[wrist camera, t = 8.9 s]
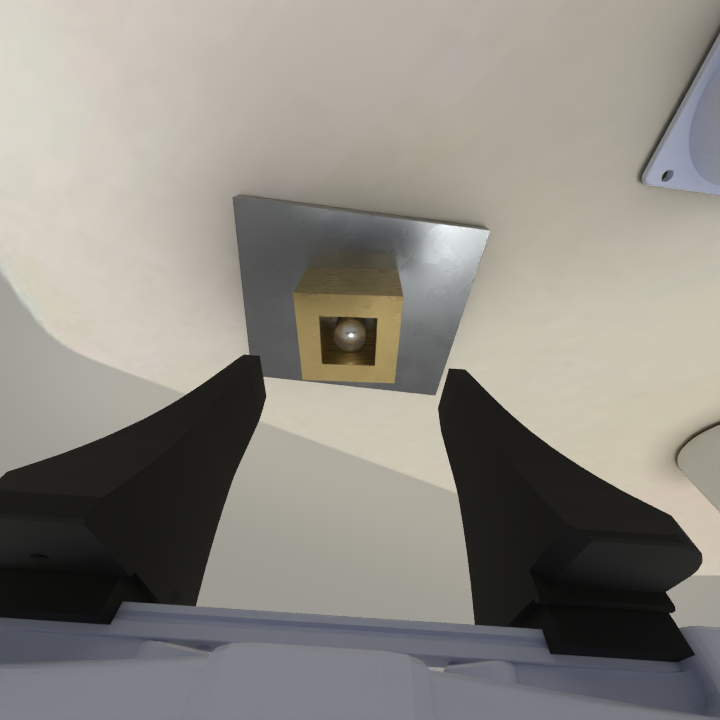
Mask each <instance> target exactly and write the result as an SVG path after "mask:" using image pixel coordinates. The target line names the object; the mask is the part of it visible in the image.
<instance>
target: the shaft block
mask: <svg viewBox="0 0 720 720" xmlns="http://www.w3.org/2000/svg"><path fill="white" fill-rule="evenodd" d="M233 204H234V214H235V223H236V232H237V242H238V251H239V260H240V269H241V279H242V288H243V297H244V306H245V316H246V325H247V334H248V343H249V353H250V355H256V356H260V360H261V366H262V373H263V377H272V378H281V379H291V380H300V381H309V382H318V383H327V384H336V385H345V386H354V387H364V388H373V389H382V390H391V391H400V392H409V393H418V394H427V395H436V392H437V389H438V386H439V383H440V380H441V377H442V374H443V371H444V368H445V365H446V362H447V359H448V356H449V353H450V350H451V347H452V344H453V341H454V338H455V335H456V332H457V329H458V326H459V323H460V320H461V317H462V314H463V311H464V308H465V305H466V302H467V299H468V296H469V293H470V290H471V287H472V284H473V281H474V278H475V275H476V272H477V269H478V266H479V263H480V260H481V257H482V254H483V251H484V248H485V245H486V242H487V239H488V236H489V233H490V230H489V229H487V228H486V227H482V226H475V225H467V224H459V223H452V222H444V221H436V220H429V219H421V218H413V217H406V216H398V215H390V214H383V213H375V212H368V211H360V210H352V209H345V208H337V207H329V206H322V205H314V204H306V203H299V202H291V201H283V200H276V199H268V198H260V197H253V196H245V195H237V196H234V197H233ZM307 267H320V268H353V269H387V270H398V272H399V277H400V282H401V286H402V291H403V296H404V298H403V307H402V317H401V326H400V336H399V345H398V355H397V364H396V374H395V383H372V382H344V381H316V380H303V379H302V370H301V361H300V352H299V343H298V334H297V325H296V315H295V306H294V297H293V292H294V290H295V289H296V287H297V285H298V283H299V281H300V280H301V278H302V276H303V274H304V272H305V270H306V269H307ZM329 319H330V330H335V332H334V341H335V343H336V344H337V346H338V347H340V348H341V349H343V350H346V351H354V350H357V349H359V348H361V347H362V346H363V344H364V342H365V336H366V331H375V318H362V317H331V316H329Z"/></svg>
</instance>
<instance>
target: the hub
mask: <svg viewBox="0 0 720 720" xmlns="http://www.w3.org/2000/svg"><path fill="white" fill-rule="evenodd" d="M293 297H294V306H295V315H296V325H297V334H298V343H299V352H300V361H301V370H302V379H303V380H316V381H344V382H372V383H395V374H396V364H397V355H398V345H399V336H400V326H401V317H402V307H403V298H404V296H403V291H402V286H401V282H400V277H399V272H398V270H387V269H353V268H320V267H307V269H306V270H305V272H304V274H303V276H302V278H301V280H300V281H299V283H298V285H297V287H296V289H295V290H294V292H293ZM329 316H331V317H362V318H375V331H366V336H365V342H364V344H363V346H362V347H361V348H359V349H357V350H354V351H346V350H343V349H341V348H340V347H338V346H337V344H336V343H335V341H334V332H335V330H330V319H329Z"/></svg>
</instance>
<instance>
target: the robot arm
mask: <svg viewBox="0 0 720 720" xmlns="http://www.w3.org/2000/svg"><path fill="white" fill-rule="evenodd" d="M666 171H667V176H666V177H665V178H664V179H663V180H662V179H661V178H662V175H663V174H664V173H665V172H666ZM642 182H643V184H645V185H649V186H656V187H663V188H670V189H678V190H685V191H692V192H699V193H706V194H714V195H720V33H719V35H718V37H717V39H716V41H715V43H714V44H713V46H712V48H711V50H710V52H709V54H708V55H707V57H706V59H705V61H704V63H703V65H702V66H701V68H700V70H699V72H698V74H697V76H696V77H695V79H694V81H693V83H692V85H691V87H690V88H689V90H688V92H687V94H686V96H685V98H684V99H683V101H682V103H681V105H680V107H679V109H678V110H677V112H676V114H675V116H674V118H673V120H672V121H671V123H670V125H669V127H668V129H667V131H666V132H665V134H664V136H663V138H662V140H661V142H660V143H659V145H658V147H657V149H656V151H655V153H654V154H653V156H652V158H651V160H650V162H649V164H648V165H647V167H646V169H645V171H644V173H643V175H642ZM265 399H266V392H265V386H264V379H263V373H262V366H261V360H260V356H256V355H243V356H241V357H240V358H238V359H237V360H235V361H234V362H233V363H231V364H230V365H228V366H227V367H226V368H224V369H223V370H222V371H220V372H219V373H217V374H216V375H215V376H213V377H212V378H210V379H209V380H208V381H206V382H205V383H203V384H202V385H200V386H199V387H197V388H196V389H194V390H193V391H191V392H190V393H188V394H187V395H185V396H184V397H182V398H180V399H179V400H177V401H176V402H174V403H172V404H171V405H169V406H167V407H165V408H164V409H162V410H160V411H158V412H156V413H154V414H153V415H151V416H149V417H147V418H145V419H143V420H141V421H139V422H137V423H134V424H132V425H130V426H128V427H126V428H124V429H122V430H119V431H117V432H115V433H113V434H111V435H108V436H106V437H104V438H101V439H99V440H96V441H94V442H91V443H89V444H86V445H84V446H81V447H79V448H76V449H73V450H71V451H68V452H65V453H63V454H60V455H57V456H54V457H51V458H48V459H45V460H42V461H39V462H36V463H33V464H30V465H27V466H24V467H21V468H18V469H15V470H11V471H8V472H7V473H5V474H4V476H2V477H1V478H0V720H720V627H704V626H688V627H682V628H678V627H677V625H676V623H675V622H674V620H673V619H672V617H671V616H670V614H669V613H673V612H674V611H675V606H674V604H673V603H672V601H671V600H670V598H669V597H668V595H667V594H666V591H668V590H669V589H671V588H672V587H674V586H676V585H677V584H679V583H680V582H682V581H684V580H685V579H687V578H688V577H690V576H691V575H692V574H694V573H695V572H696V571H697V570H698V569H699V567H700V565H701V564H702V553H701V552H700V551H699V549H698V548H697V547H696V546H695V544H694V543H693V542H692V541H691V540H690V538H689V537H688V536H687V535H686V533H685V532H684V531H683V530H682V528H681V527H680V526H679V525H678V523H677V522H676V521H675V520H674V518H673V517H672V516H671V515H669V514H667V513H665V512H663V511H661V510H659V509H657V508H655V507H653V506H651V505H649V504H647V503H645V502H643V501H641V500H639V499H637V498H635V497H633V496H631V495H629V494H627V493H625V492H623V491H622V490H620V489H618V488H616V487H615V486H613V485H611V484H609V483H607V482H606V481H604V480H602V479H600V478H599V477H597V476H595V475H594V474H592V473H590V472H589V471H587V470H585V469H584V468H582V467H581V466H579V465H577V464H576V463H574V462H573V461H571V460H570V459H568V458H567V457H565V456H564V455H562V454H561V453H559V452H558V451H556V450H555V449H554V448H552V447H551V446H549V445H548V444H547V443H545V442H544V441H543V440H541V439H540V438H539V437H537V436H536V435H535V434H533V433H532V432H531V431H530V430H528V429H527V428H526V427H525V426H524V425H522V424H521V423H520V422H519V421H518V420H517V419H516V418H514V417H513V416H512V415H511V414H510V413H509V412H508V411H507V410H505V409H504V408H503V407H502V406H501V405H500V404H499V403H498V402H497V401H496V400H495V399H494V398H493V397H492V396H491V395H490V394H489V393H488V392H487V391H486V390H485V389H484V388H483V387H482V386H481V385H480V384H479V383H478V382H477V381H476V380H475V379H474V378H473V377H472V376H471V375H470V374H469V373H468V372H467V371H466V370H463V369H449V371H448V374H447V378H446V382H445V385H444V389H443V392H442V396H441V400H440V403H439V407H438V411H439V419H440V426H441V432H442V436H443V440H444V444H445V448H446V451H447V455H448V459H449V462H450V466H451V469H452V473H453V477H454V480H455V484H456V488H457V493H458V497H459V503H460V509H461V515H462V521H463V528H464V535H465V542H466V549H467V556H468V563H469V572H470V581H471V590H472V599H473V610H474V619H475V625H468V624H453V623H437V622H423V621H408V620H407V621H406V620H393V619H377V618H363V617H348V616H333V615H332V616H331V615H318V614H302V613H287V612H272V611H256V610H242V609H227V608H212V607H197V606H196V603H197V599H198V595H199V591H200V587H201V584H202V580H203V575H204V572H205V567H206V564H207V561H208V557H209V554H210V550H211V547H212V543H213V540H214V536H215V533H216V530H217V526H218V523H219V520H220V517H221V513H222V510H223V507H224V504H225V501H226V498H227V495H228V492H229V489H230V486H231V483H232V480H233V477H234V475H235V473H236V470H237V468H238V466H239V464H240V461H241V459H242V457H243V455H244V453H245V450H246V448H247V446H248V444H249V442H250V440H251V437H252V435H253V433H254V431H255V428H256V426H257V424H258V422H259V419H260V416H261V413H262V410H263V406H264V403H265ZM209 652H211V653H210V654H209ZM428 667H442V668H445V669H444V672H441V671H435V670H430V669H428Z"/></svg>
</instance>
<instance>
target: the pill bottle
mask: <svg viewBox="0 0 720 720" xmlns="http://www.w3.org/2000/svg"><path fill="white" fill-rule="evenodd" d="M677 462H678V466H679V468H680V469H681V471H682V472H683V473H684V474H685V476H686V477H687V478H688V479H689V480H690V481H691V482H692V483H693V484H694V486H695V487H696V488H697V489H698V490H699V491H700V492H701V493H702V494H703V495H704V496H705V497H706V498H707V499H708V500H709V501H710V503H711V504H712V505H713V506H714V507H715V508H716V509H717V510H718V511H719V512H720V425H718V426H715V427H713V428H711V429H709V430H707V431H705V432H703V433H701V434H699V435H698V436H696V437H695V438H693V439H692V440H691V441H689V442H688V443H687V444H686V445H685V446H684V447H683V448H682V450H681V451H680V453H679V455H678V458H677Z"/></svg>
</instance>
